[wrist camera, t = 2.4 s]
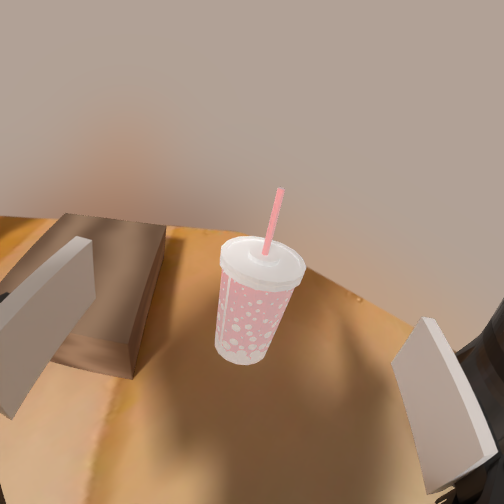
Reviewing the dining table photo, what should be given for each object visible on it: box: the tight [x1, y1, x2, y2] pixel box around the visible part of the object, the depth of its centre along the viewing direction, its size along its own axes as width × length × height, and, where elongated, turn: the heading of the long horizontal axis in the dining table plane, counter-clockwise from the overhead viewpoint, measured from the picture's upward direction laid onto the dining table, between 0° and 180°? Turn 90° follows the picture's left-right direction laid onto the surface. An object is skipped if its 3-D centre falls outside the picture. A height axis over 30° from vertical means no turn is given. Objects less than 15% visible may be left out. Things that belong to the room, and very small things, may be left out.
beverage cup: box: [215, 187, 306, 365], centre depth 22 cm, size 6×6×14 cm
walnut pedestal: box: [0, 213, 166, 379], centre depth 25 cm, size 13×18×4 cm
